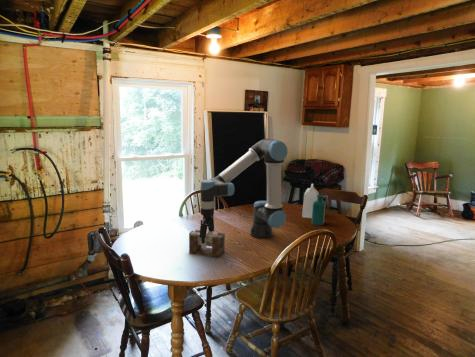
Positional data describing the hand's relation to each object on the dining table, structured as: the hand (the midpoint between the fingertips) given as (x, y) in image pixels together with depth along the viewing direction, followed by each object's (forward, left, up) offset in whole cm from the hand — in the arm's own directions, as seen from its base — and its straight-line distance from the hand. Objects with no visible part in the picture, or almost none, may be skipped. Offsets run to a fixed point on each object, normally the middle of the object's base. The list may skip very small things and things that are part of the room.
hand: (207, 245), depth 192 cm
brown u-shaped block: (0, 0, -5) cm, 5 cm away
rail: (0, 0, 0) cm, 1 cm away
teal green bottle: (-58, -78, -5) cm, 97 cm away
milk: (-50, -96, -5) cm, 108 cm away
